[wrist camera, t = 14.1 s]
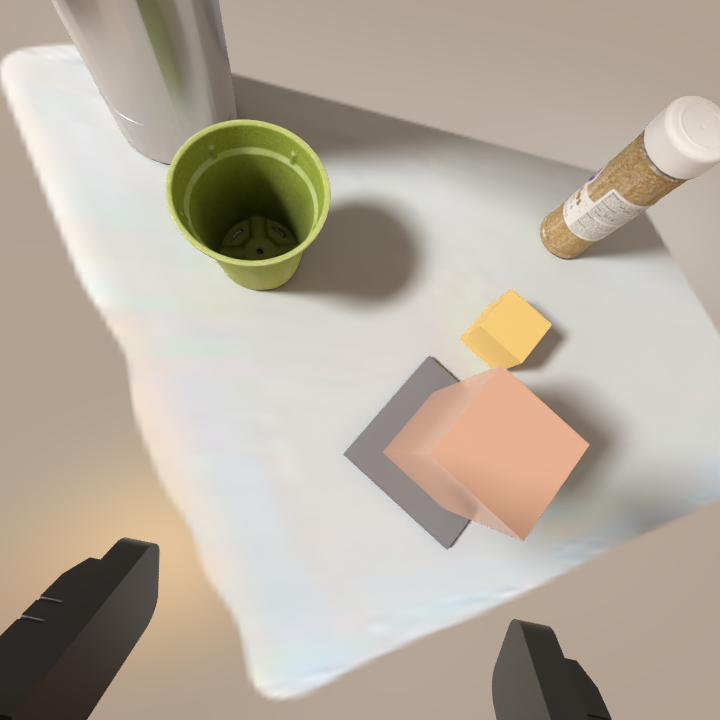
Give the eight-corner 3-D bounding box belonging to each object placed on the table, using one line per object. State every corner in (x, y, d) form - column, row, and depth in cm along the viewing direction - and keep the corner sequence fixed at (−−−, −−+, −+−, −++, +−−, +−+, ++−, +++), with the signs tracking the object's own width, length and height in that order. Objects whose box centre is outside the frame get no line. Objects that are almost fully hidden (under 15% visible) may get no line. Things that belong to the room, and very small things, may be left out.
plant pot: (344, 247, 34) (361, 181, 26) (272, 336, 32) (265, 296, 23) (251, 179, 34) (236, 91, 26) (171, 263, 32) (128, 197, 23)
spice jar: (550, 204, 38) (684, 77, 25) (592, 232, 38) (747, 120, 25) (529, 242, 37) (658, 130, 24) (572, 270, 37) (725, 174, 24)
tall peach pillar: (382, 452, 31) (429, 454, 20) (432, 392, 32) (501, 364, 21) (443, 508, 30) (523, 541, 20) (491, 445, 32) (589, 444, 21)
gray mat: (343, 454, 31) (343, 454, 30) (427, 357, 33) (429, 355, 33) (445, 548, 30) (447, 549, 30) (522, 443, 33) (525, 443, 32)
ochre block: (459, 339, 34) (480, 325, 30) (487, 306, 35) (511, 288, 31) (495, 372, 34) (522, 363, 30) (523, 338, 35) (552, 324, 31)
